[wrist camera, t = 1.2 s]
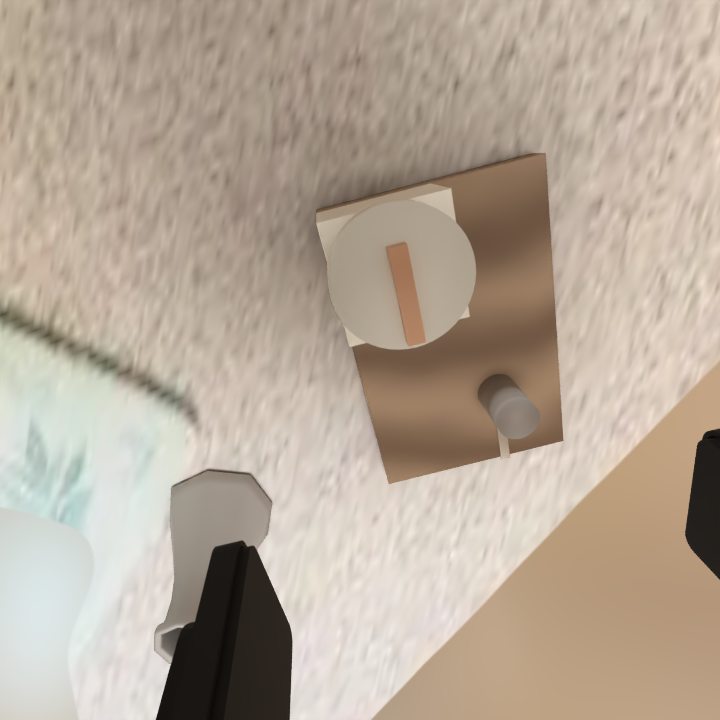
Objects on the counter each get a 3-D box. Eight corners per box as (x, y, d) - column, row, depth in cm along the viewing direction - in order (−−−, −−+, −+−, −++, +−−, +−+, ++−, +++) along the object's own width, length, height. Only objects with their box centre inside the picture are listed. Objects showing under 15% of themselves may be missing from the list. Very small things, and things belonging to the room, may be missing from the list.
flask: (154, 476, 31) (87, 610, 22) (261, 459, 31) (237, 584, 22) (186, 554, 34) (138, 699, 25) (282, 538, 34) (269, 677, 25)
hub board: (316, 209, 25) (316, 221, 20) (532, 153, 25) (581, 152, 20) (386, 471, 32) (397, 523, 28) (552, 430, 32) (591, 476, 28)
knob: (311, 209, 23) (309, 226, 18) (433, 178, 23) (469, 184, 18) (342, 324, 26) (349, 370, 21) (452, 296, 26) (489, 334, 20)
